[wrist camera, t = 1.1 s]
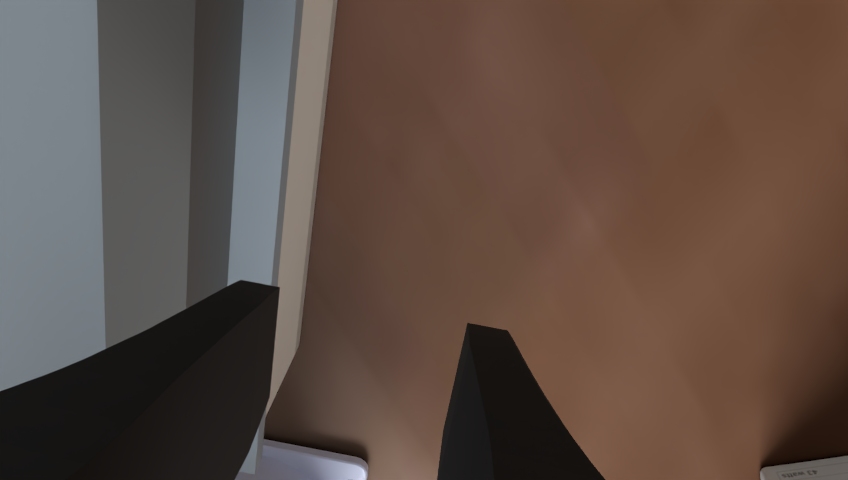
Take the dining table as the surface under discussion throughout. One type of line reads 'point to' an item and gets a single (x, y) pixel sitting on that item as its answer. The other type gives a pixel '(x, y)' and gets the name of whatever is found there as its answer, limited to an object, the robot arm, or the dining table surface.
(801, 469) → the light bulb box
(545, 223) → the dining table surface
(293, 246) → the white square shallow box
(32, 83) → the lid
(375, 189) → the dining table surface
